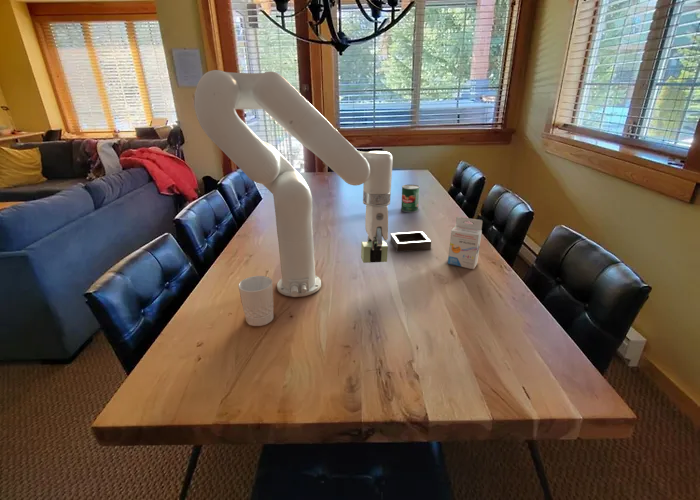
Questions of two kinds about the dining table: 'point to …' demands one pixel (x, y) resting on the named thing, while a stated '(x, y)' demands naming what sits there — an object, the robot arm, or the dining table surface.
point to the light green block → (366, 251)
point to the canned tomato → (410, 198)
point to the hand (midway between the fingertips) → (373, 257)
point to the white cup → (257, 300)
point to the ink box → (465, 243)
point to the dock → (410, 241)
